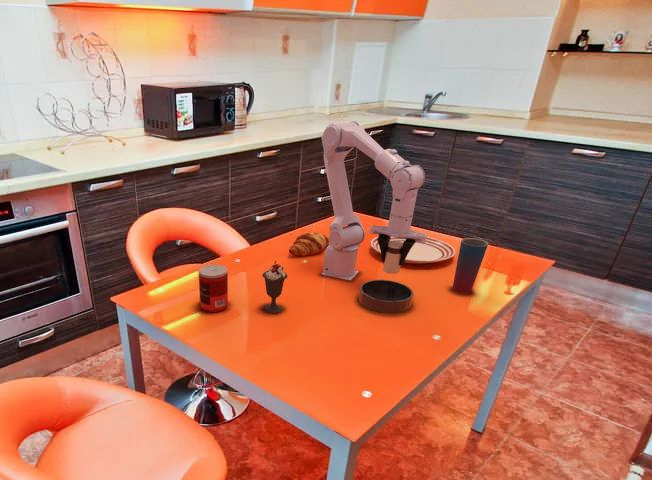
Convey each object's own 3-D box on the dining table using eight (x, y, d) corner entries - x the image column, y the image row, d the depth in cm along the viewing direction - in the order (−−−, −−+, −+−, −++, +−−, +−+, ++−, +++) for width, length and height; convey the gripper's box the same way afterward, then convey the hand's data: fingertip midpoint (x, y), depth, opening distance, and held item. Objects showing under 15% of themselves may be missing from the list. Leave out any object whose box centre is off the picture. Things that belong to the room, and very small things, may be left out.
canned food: (231, 301, 136) (231, 265, 130) (222, 314, 129) (221, 277, 124) (206, 298, 138) (205, 262, 132) (196, 310, 132) (194, 273, 126)
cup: (476, 297, 136) (491, 247, 128) (451, 295, 137) (464, 245, 129) (471, 287, 142) (484, 238, 134) (446, 285, 143) (458, 237, 135)
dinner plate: (385, 235, 181) (386, 227, 179) (462, 250, 167) (464, 241, 165) (357, 258, 162) (358, 249, 160) (440, 277, 148) (443, 267, 146)
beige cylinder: (380, 271, 134) (385, 244, 130) (385, 266, 137) (390, 239, 133) (396, 275, 132) (402, 247, 128) (401, 269, 135) (406, 242, 131)
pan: (351, 307, 132) (353, 294, 130) (367, 288, 142) (369, 276, 140) (402, 319, 125) (405, 306, 123) (415, 299, 136) (418, 286, 133)
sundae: (269, 316, 128) (271, 264, 120) (256, 306, 133) (258, 255, 125) (290, 311, 130) (293, 259, 123) (276, 301, 136) (279, 251, 128)
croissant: (321, 250, 178) (315, 229, 177) (342, 243, 170) (336, 222, 169) (283, 264, 166) (276, 242, 165) (304, 258, 158) (297, 235, 157)
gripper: (369, 214, 127) (362, 262, 134) (426, 223, 120) (415, 273, 127) (377, 207, 132) (370, 254, 139) (432, 215, 125) (422, 264, 132)
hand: (392, 262), depth 133 cm, fingers closed on beige cylinder, 4 cm apart
